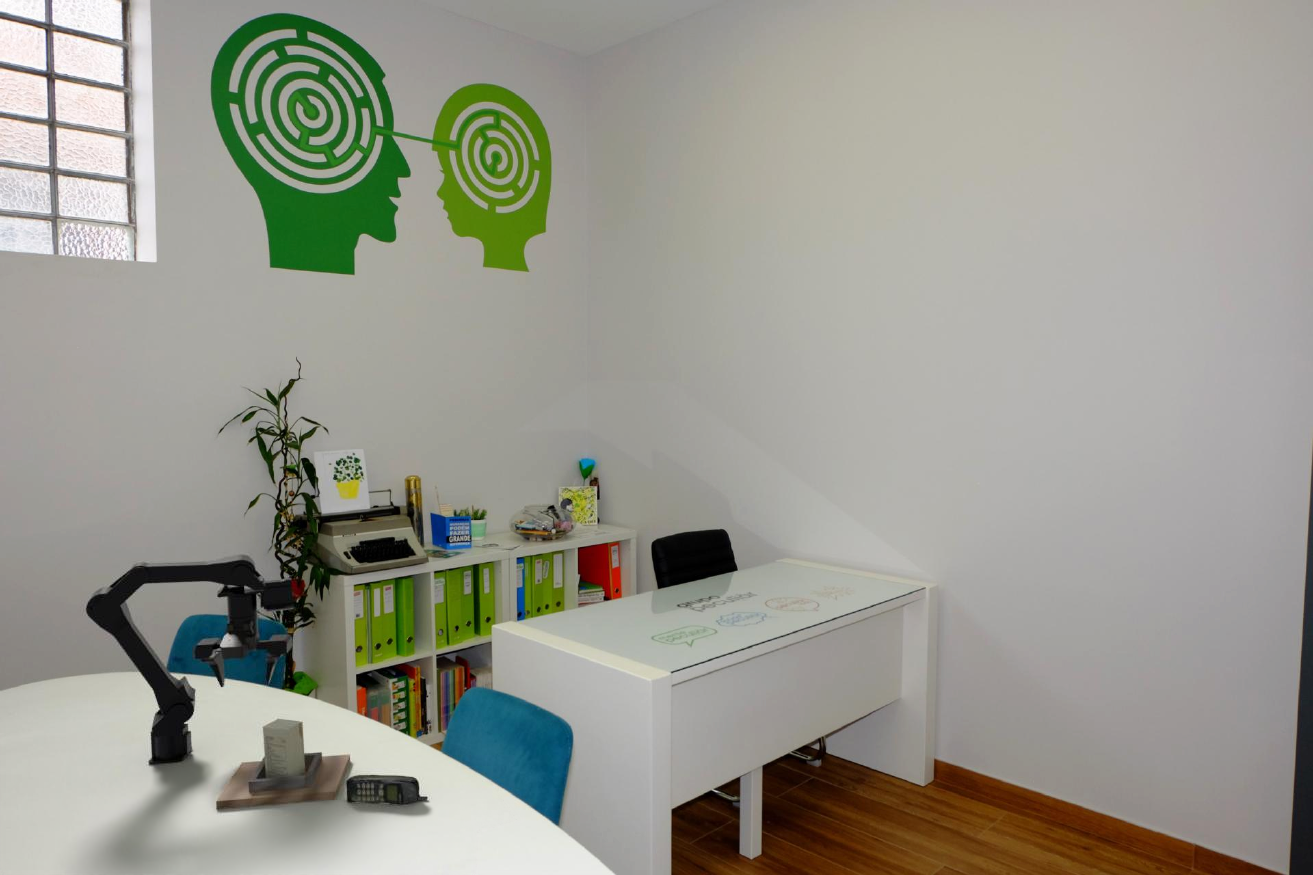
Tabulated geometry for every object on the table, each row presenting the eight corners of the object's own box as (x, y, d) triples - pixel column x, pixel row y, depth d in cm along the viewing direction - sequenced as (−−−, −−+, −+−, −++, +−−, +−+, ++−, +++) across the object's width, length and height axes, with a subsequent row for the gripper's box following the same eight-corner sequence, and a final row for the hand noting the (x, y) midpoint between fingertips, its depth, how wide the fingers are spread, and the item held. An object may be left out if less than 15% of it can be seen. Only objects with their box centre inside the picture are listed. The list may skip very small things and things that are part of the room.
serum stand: (216, 808, 159) (215, 790, 159) (242, 769, 175) (241, 752, 175) (335, 798, 163) (335, 781, 163) (350, 761, 179) (349, 744, 178)
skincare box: (306, 781, 170) (304, 721, 169) (291, 791, 166) (289, 730, 165) (280, 776, 172) (278, 717, 171) (264, 786, 168) (262, 725, 167)
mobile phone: (343, 780, 161) (422, 779, 160) (350, 772, 164) (427, 772, 163) (345, 805, 161) (424, 805, 160) (351, 797, 164) (429, 797, 163)
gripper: (182, 627, 175) (185, 702, 177) (279, 622, 179) (281, 696, 180) (200, 612, 186) (203, 682, 188) (291, 608, 190) (294, 677, 191)
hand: (245, 685), depth 186 cm, fingers open, 9 cm apart
